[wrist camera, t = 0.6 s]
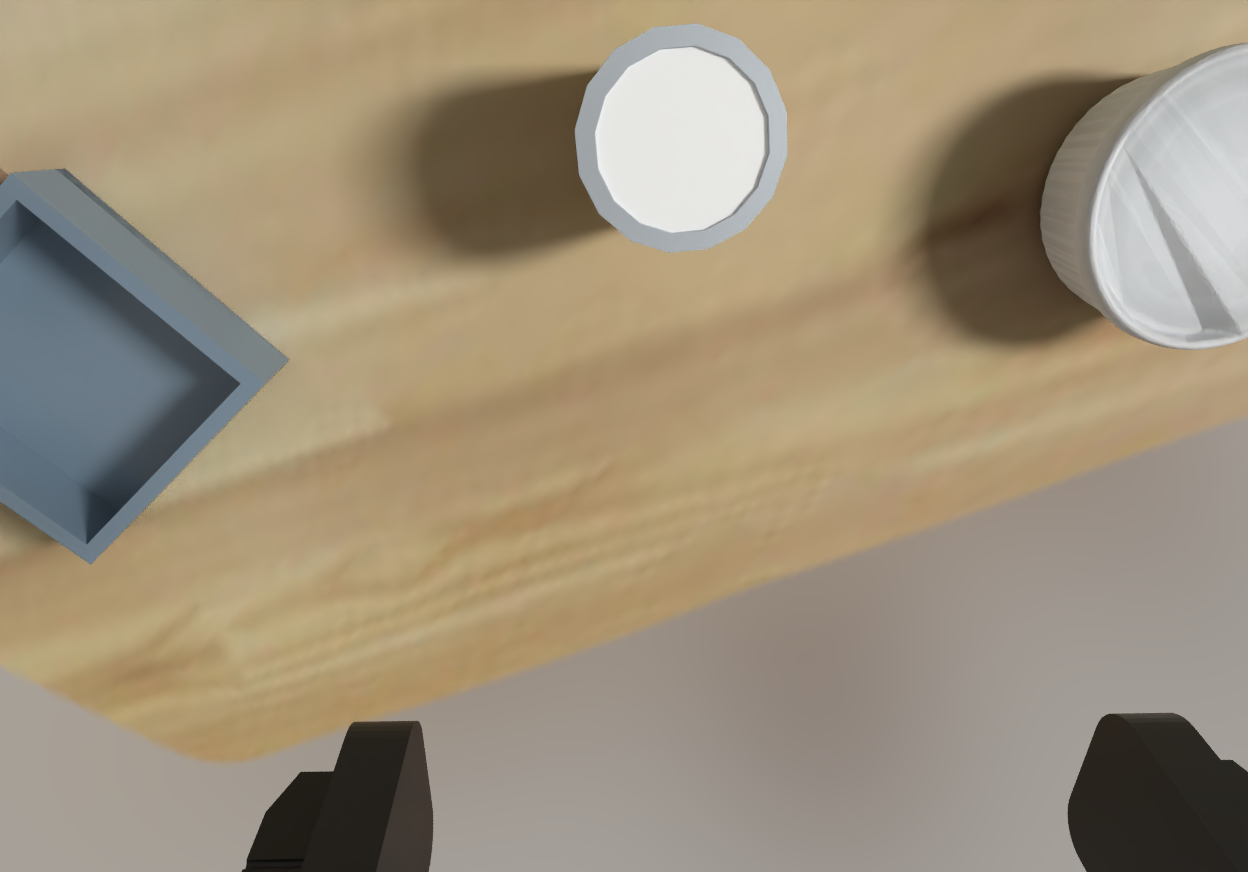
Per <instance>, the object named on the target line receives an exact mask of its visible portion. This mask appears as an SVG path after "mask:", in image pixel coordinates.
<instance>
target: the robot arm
mask: <svg viewBox="0 0 1248 872" xmlns="http://www.w3.org/2000/svg"><path fill="white" fill-rule="evenodd" d="M1068 824H1069V830H1070V835H1071V838H1072V842H1073V845H1074V848H1075V850H1076V853H1077V855H1078V857H1079V859H1080V860H1081V862H1082V864H1083V866H1084V867H1085V869H1086V871H1087V872H1248V772H1247V771H1246V770H1245V769H1243V768H1242V767H1241V766H1239V765H1238V764H1237V763H1235V762H1234V761H1233V760H1220V758H1219V757H1218V756H1217V755H1216V754H1215V752H1214V751H1213V750H1212V749H1211V747H1210V746H1209V745H1208V744H1207V743H1206V741H1205V740H1204V739H1203V738H1202V736H1201V735H1200V734H1199V733H1198V732H1197V730H1196V729H1195V728H1194V727H1193V726H1192V725H1191V724H1190V722H1188V721H1187V720H1186V719H1185V718H1183V717H1182V716H1180V715H1177V714H1174V713H1136V714H1135V713H1134V714H1108V715H1105V716H1104V717H1102V718H1101V720H1100V721H1099V723H1098V725H1097V727H1096V730H1095V732H1094V735H1093V738H1092V740H1091V743H1090V746H1089V748H1088V751H1087V754H1086V756H1085V759H1084V762H1083V764H1082V767H1081V770H1080V772H1079V775H1078V777H1077V780H1076V783H1075V785H1074V788H1073V791H1072V793H1071V796H1070V799H1069V804H1068ZM432 841H433V808H432V801H431V793H430V786H429V778H428V771H427V763H426V755H425V748H424V741H423V733H422V728H421V725H420V723H419V721H382V722H354V723H352V724H351V726H350V727H349V729H348V731H347V733H346V736H345V739H344V742H343V745H342V748H341V751H340V754H339V757H338V760H337V763H336V766H335V769H334V771H333V772H300V773H299V774H298V776H297V777H296V778H295V779H294V780H293V782H292V783H291V784H290V785H289V786H288V787H287V788H286V790H285V791H284V792H283V793H282V794H281V795H280V797H279V798H278V799H277V800H276V801H275V802H274V803H273V805H272V806H271V807H270V808H269V809H268V810H267V811H266V813H265V815H264V818H263V820H262V823H261V825H260V828H259V830H258V833H257V835H256V838H255V840H254V843H253V845H252V848H251V850H250V853H249V855H248V858H247V865H246V868H245V869H244V870H242V872H429V866H430V860H431V852H432Z"/></svg>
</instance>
